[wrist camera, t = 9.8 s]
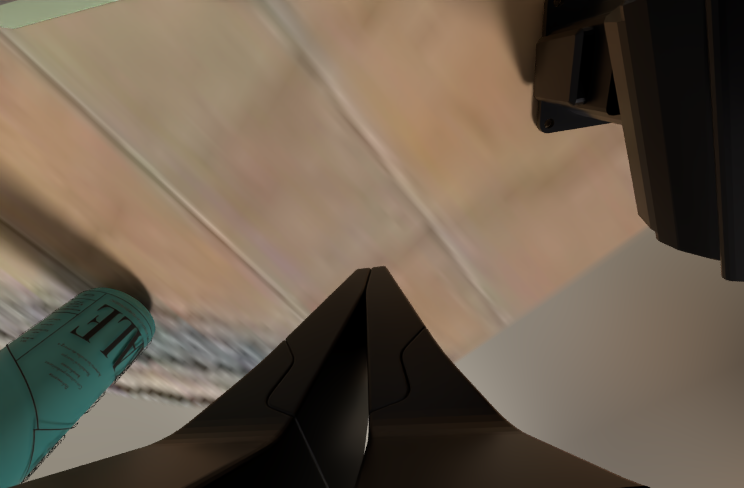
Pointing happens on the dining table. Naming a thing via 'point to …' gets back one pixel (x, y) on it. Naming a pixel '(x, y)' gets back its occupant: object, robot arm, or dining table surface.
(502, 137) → the dining table surface
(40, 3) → the trap box
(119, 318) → the beverage bottle
